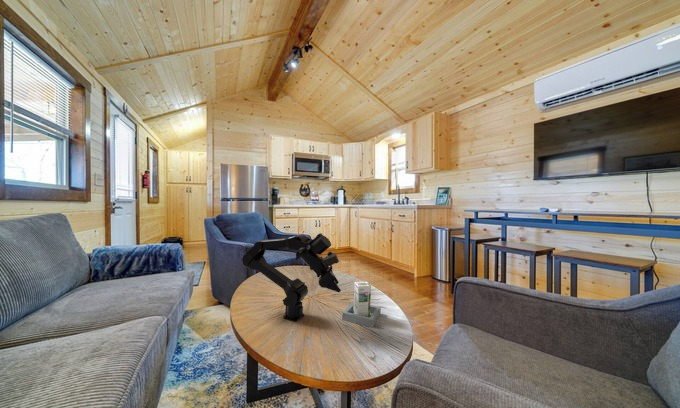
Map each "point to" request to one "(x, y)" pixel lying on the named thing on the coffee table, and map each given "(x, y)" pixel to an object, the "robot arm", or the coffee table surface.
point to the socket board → (360, 319)
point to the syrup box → (362, 298)
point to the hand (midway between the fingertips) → (338, 287)
